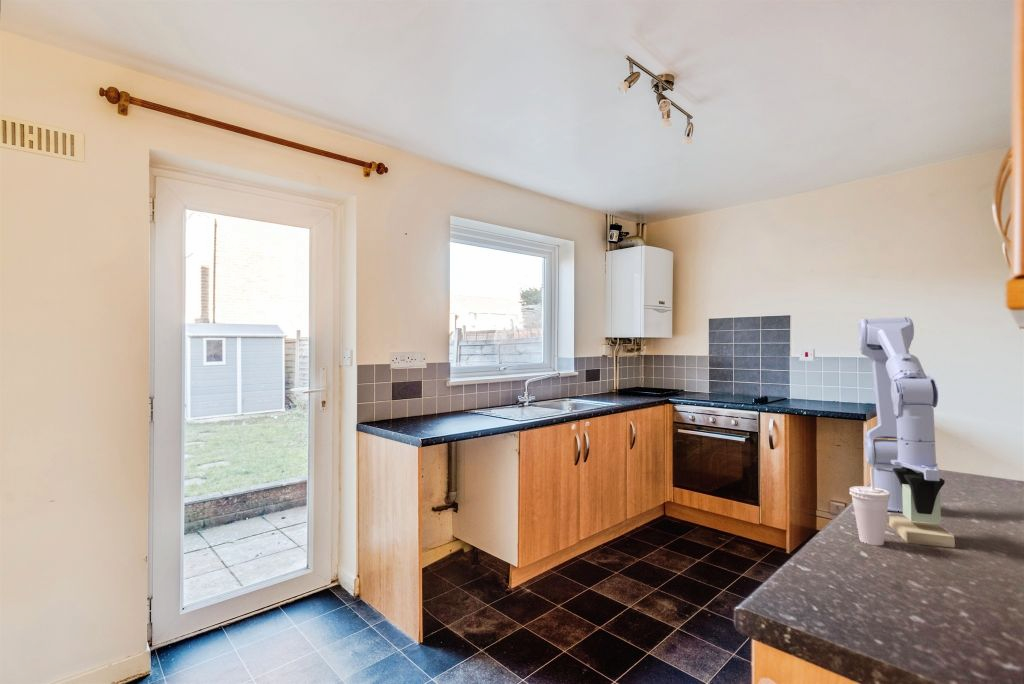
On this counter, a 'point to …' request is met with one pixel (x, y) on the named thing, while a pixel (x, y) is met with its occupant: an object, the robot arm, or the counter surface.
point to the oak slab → (921, 532)
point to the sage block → (910, 508)
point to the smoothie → (870, 511)
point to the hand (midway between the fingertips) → (918, 509)
